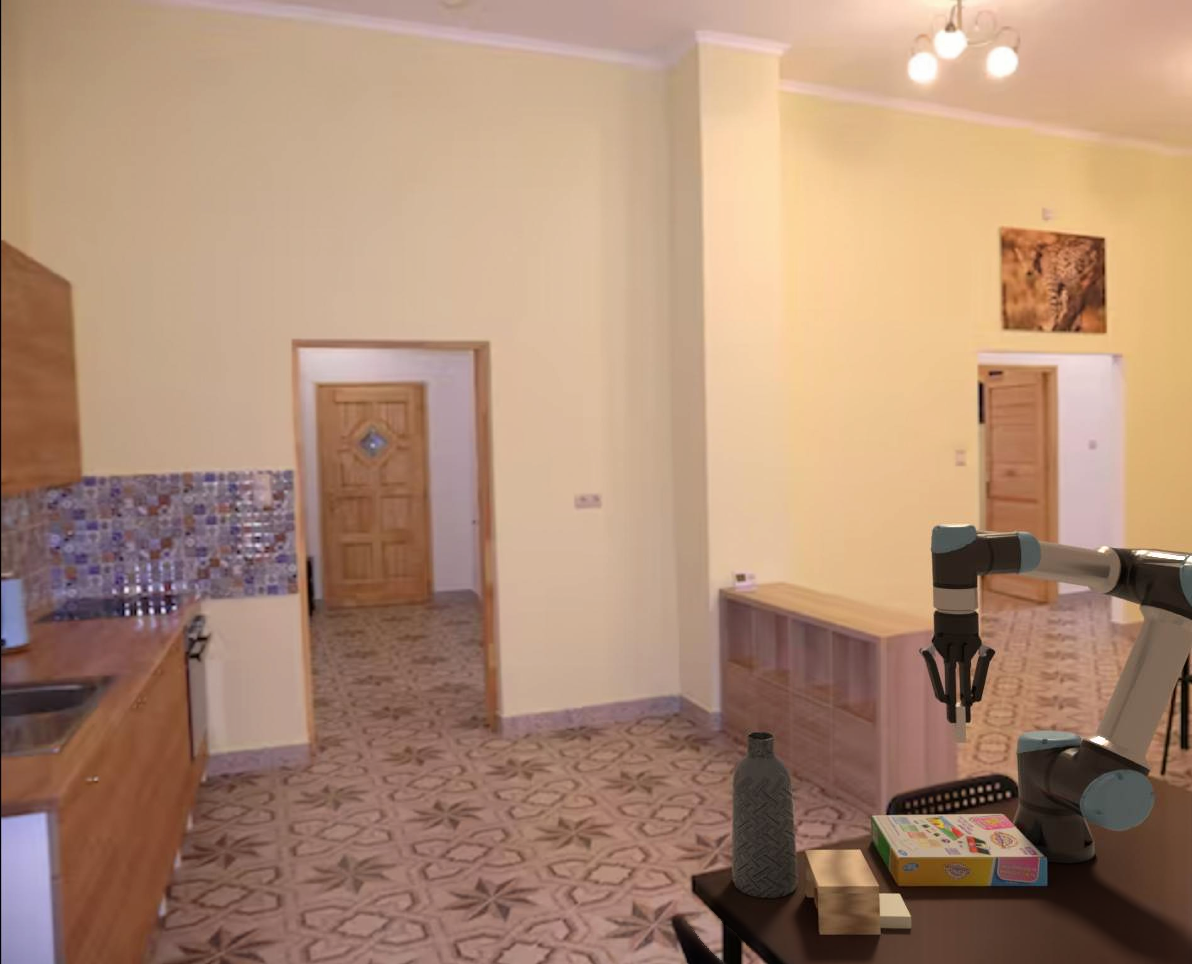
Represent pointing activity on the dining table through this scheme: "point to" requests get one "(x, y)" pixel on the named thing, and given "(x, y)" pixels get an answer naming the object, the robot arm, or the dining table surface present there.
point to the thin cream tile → (893, 912)
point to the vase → (763, 822)
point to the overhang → (843, 892)
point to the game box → (957, 850)
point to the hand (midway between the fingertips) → (959, 740)
